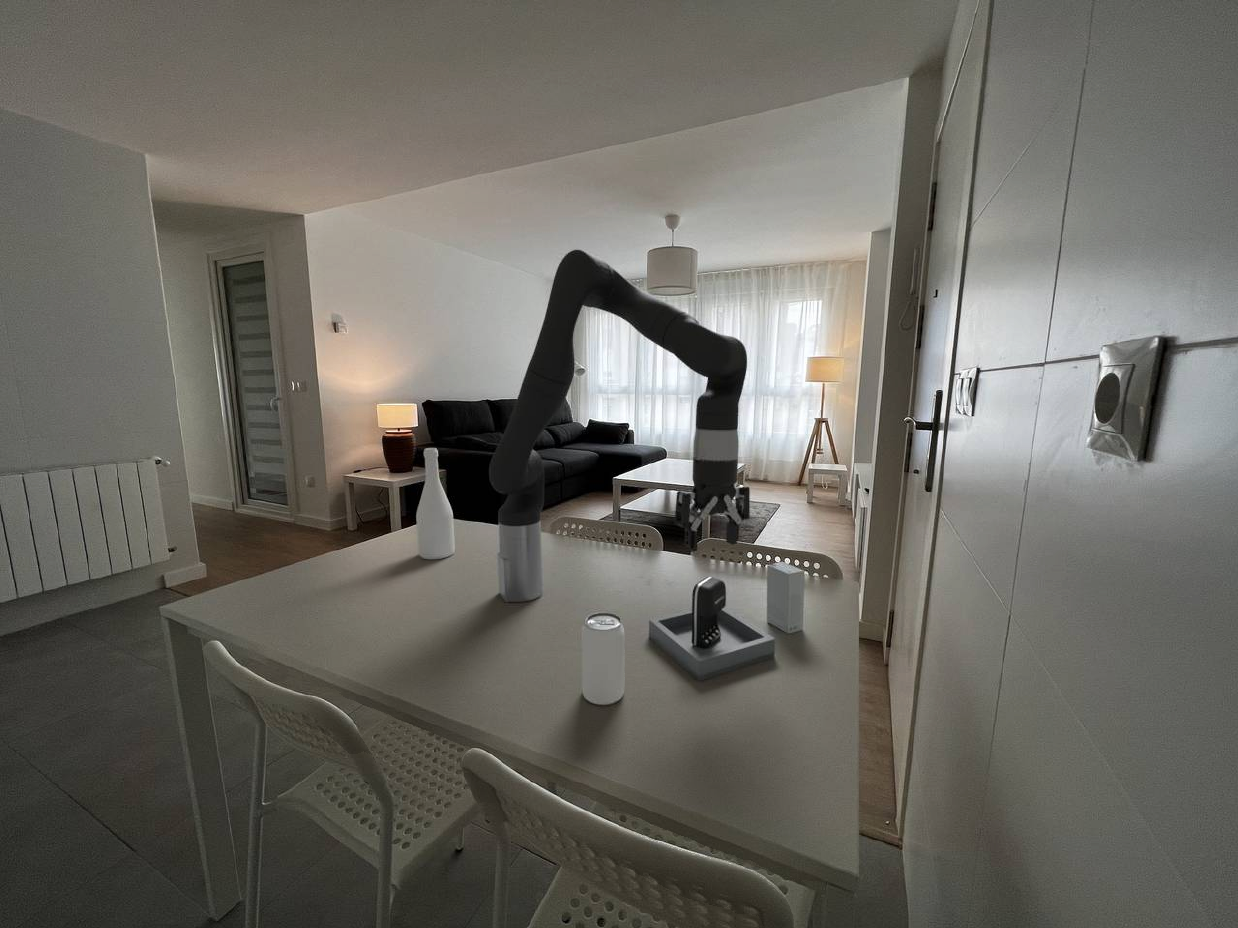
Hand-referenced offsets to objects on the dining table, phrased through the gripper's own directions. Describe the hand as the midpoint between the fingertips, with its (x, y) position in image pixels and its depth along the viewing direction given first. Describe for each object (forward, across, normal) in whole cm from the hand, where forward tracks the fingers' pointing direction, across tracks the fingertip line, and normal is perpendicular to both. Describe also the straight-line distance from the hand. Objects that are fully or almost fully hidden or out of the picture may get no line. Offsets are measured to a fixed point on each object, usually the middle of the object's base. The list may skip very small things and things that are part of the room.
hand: (711, 546), depth 88 cm
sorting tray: (+19, 0, 0) cm, 19 cm away
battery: (+18, 0, 0) cm, 18 cm away
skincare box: (+19, -18, 0) cm, 26 cm away
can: (+19, +23, +4) cm, 30 cm away
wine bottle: (+20, +38, -75) cm, 86 cm away
